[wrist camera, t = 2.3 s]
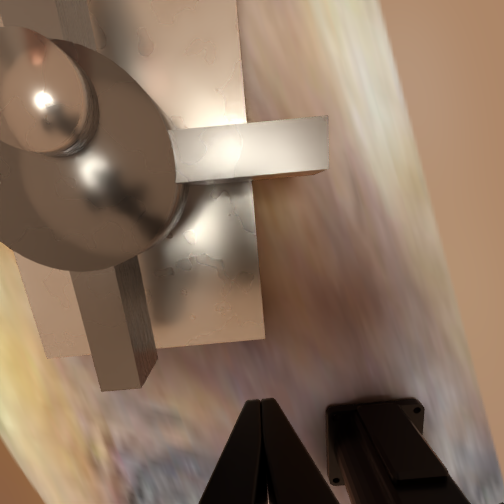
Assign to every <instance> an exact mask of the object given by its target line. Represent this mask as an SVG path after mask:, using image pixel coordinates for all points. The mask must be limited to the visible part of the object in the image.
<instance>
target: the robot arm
mask: <svg viewBox="0 0 504 504" xmlns="http://www.w3.org/2000/svg"><path fill="white" fill-rule="evenodd" d="M423 421H424V407H423V405H422V404H421V403H420V402H419V401H418V400H416V399H409V400H398V401H387V402H376V403H365V404H354V405H343V406H333V407H330V408H328V409H327V411H326V436H327V473H328V478H329V481H330V484H331V485H333V486H340V485H345V486H346V489H347V492H348V495H349V498H350V501H351V504H471V503H470V502H469V501H468V499H467V498H466V497H465V495H464V494H463V492H462V491H461V490H460V488H459V487H458V486H457V484H456V483H455V482H454V480H453V479H452V478H451V476H450V475H449V473H448V471H447V468H446V467H445V466H444V464H443V463H442V462H441V460H440V459H439V458H438V456H437V455H436V454H435V452H434V451H433V450H432V448H431V447H430V446H429V444H428V443H427V442H426V440H425V439H424V438H423V436H422V434H423ZM267 486H268V489H267ZM268 496H269V504H339V502H338V500H337V499H336V497H335V495H334V494H333V492H332V491H331V489H330V487H329V486H328V484H327V482H326V481H325V479H324V478H323V476H322V474H321V473H320V471H319V469H318V468H317V466H316V465H315V463H314V461H313V460H312V458H311V456H310V455H309V453H308V452H307V450H306V448H305V447H304V445H303V443H302V442H301V440H300V438H299V437H298V435H297V434H296V432H295V430H294V429H293V427H292V425H291V424H290V422H289V421H288V419H287V417H286V416H285V414H284V412H283V411H282V409H281V408H280V406H279V404H278V403H277V401H276V400H275V399H274V398H266V399H262V400H261V402H260V400H259V399H255V400H247V401H246V402H245V404H244V406H243V409H242V411H241V413H240V415H239V417H238V419H237V422H236V424H235V426H234V428H233V430H232V432H231V434H230V437H229V439H228V441H227V443H226V445H225V447H224V450H223V452H222V454H221V456H220V458H219V460H218V463H217V465H216V467H215V469H214V471H213V473H212V475H211V478H210V480H209V482H208V484H207V486H206V488H205V491H204V493H203V495H202V497H201V499H200V501H199V504H268ZM500 504H504V503H503V502H502V503H500Z"/></svg>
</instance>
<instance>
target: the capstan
mask: <svg viewBox="0 0 504 504" xmlns="http://www.w3.org/2000/svg"><path fill="white" fill-rule="evenodd" d="M0 14H1V18H2V21H3V25H4V27H0V241H1V242H2V243H3V244H5V245H6V246H7V247H9V248H10V249H11V250H13V251H15V252H16V253H18V254H20V255H21V256H23V257H25V258H27V259H29V260H31V261H34V262H36V263H38V264H41V265H44V266H47V267H50V268H55V269H59V270H64V271H69V272H70V276H71V280H72V283H73V287H74V291H75V295H76V298H77V302H78V306H79V310H80V313H81V317H82V321H83V325H84V328H85V332H86V336H87V340H88V343H89V347H90V351H91V355H92V358H93V362H94V366H95V370H96V373H97V377H98V381H99V385H100V388H101V392H104V391H115V390H126V389H137V388H142V386H143V384H144V382H145V381H146V379H147V377H148V375H149V374H150V372H151V370H152V368H153V367H154V365H155V363H156V361H157V360H158V356H157V351H156V346H155V341H154V336H153V331H152V326H151V321H150V316H149V311H148V306H147V300H146V295H145V290H144V285H143V280H142V275H141V270H140V265H139V260H138V255H139V254H141V253H143V252H145V251H147V250H149V249H151V248H153V247H154V246H156V245H157V244H159V243H160V242H161V241H162V240H164V239H165V238H166V237H167V236H168V235H169V234H170V233H171V231H172V230H173V229H174V228H175V226H176V225H177V223H178V222H179V220H180V218H181V216H182V214H183V212H184V209H185V206H186V203H187V199H188V193H189V186H198V185H209V184H220V183H231V182H242V181H252V180H263V179H274V178H285V177H296V176H307V175H315V174H317V173H320V172H322V171H325V170H327V169H329V131H328V116H317V117H307V118H296V119H285V120H274V121H263V122H253V123H242V124H231V125H220V126H209V127H198V128H188V129H176V128H175V126H174V125H173V123H172V121H171V120H170V118H169V117H168V116H167V115H166V113H165V112H164V111H163V110H162V109H161V107H160V106H159V105H158V104H157V103H156V102H155V101H154V100H153V99H152V98H151V97H150V96H149V95H148V93H147V92H146V91H145V90H144V89H143V88H142V87H141V86H140V85H139V84H138V83H137V82H136V81H135V80H134V79H133V78H132V77H131V76H130V75H129V74H128V73H127V72H126V71H125V70H124V69H122V68H121V67H120V66H118V65H117V64H116V63H115V62H113V61H112V60H110V59H109V58H107V57H105V56H104V55H102V54H100V53H98V52H97V50H96V45H95V40H94V35H93V30H92V25H91V20H90V15H89V9H88V4H87V0H0Z"/></svg>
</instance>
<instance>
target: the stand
mask: <svg viewBox="0 0 504 504" xmlns="http://www.w3.org/2000/svg"><path fill="white" fill-rule="evenodd" d="M87 4H88V9H89V15H90V20H91V25H92V30H93V35H94V40H95V45H96V50H97V52H98V53H100V54H102V55H104V56H105V57H107V58H109V59H110V60H112V61H113V62H115V63H116V64H117V65H118V66H120V67H121V68H122V69H124V70H125V71H126V72H127V73H128V74H129V75H130V76H131V77H132V78H133V79H134V80H135V81H136V82H137V83H138V84H139V85H140V86H141V87H142V88H143V89H144V90H145V91H146V92H147V93H148V95H149V96H150V97H151V98H152V99H153V100H154V101H155V102H156V103H157V104H158V105H159V106H160V107H161V109H162V110H163V111H164V112H165V113H166V115H167V116H168V117H169V118H170V120H171V121H172V123H173V125H174V126H175V128H176V129H188V128H198V127H209V126H220V125H231V124H242V123H247V121H246V109H245V98H244V86H243V75H242V63H241V51H240V40H239V28H238V17H237V5H236V0H87ZM0 27H4V25H3V21H2V18H1V14H0ZM13 252H14V255H15V258H16V261H17V265H18V268H19V271H20V274H21V277H22V281H23V284H24V287H25V290H26V293H27V296H28V300H29V303H30V306H31V309H32V312H33V316H34V319H35V322H36V325H37V328H38V331H39V335H40V338H41V341H42V344H43V347H44V350H45V354H46V357H47V359H48V358H59V357H70V356H81V355H91V351H90V347H89V343H88V340H87V336H86V332H85V328H84V325H83V321H82V317H81V313H80V310H79V306H78V302H77V298H76V295H75V291H74V287H73V283H72V280H71V276H70V272H69V271H64V270H59V269H55V268H50V267H47V266H44V265H41V264H38V263H36V262H34V261H31V260H29V259H27V258H25V257H23V256H21V255H20V254H18V253H16V252H15V251H13ZM138 260H139V265H140V270H141V275H142V280H143V285H144V290H145V295H146V300H147V306H148V311H149V316H150V321H151V326H152V331H153V336H154V341H155V346H156V349H158V348H169V347H180V346H191V345H202V344H213V343H224V342H235V341H246V340H257V339H265V329H264V318H263V306H262V294H261V283H260V271H259V260H258V248H257V237H256V225H255V213H254V202H253V190H252V181H242V182H231V183H220V184H209V185H198V186H189V193H188V199H187V203H186V206H185V209H184V212H183V214H182V216H181V218H180V220H179V222H178V223H177V225H176V226H175V228H174V229H173V230H172V231H171V233H170V234H169V235H168V236H167V237H166V238H165V239H164V240H162V241H161V242H160V243H159V244H157V245H156V246H154V247H153V248H151V249H149V250H147V251H145V252H143V253H141V254H139V255H138Z"/></svg>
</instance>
